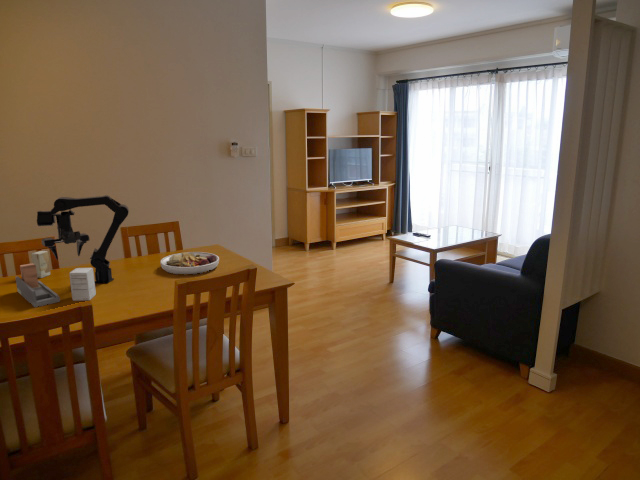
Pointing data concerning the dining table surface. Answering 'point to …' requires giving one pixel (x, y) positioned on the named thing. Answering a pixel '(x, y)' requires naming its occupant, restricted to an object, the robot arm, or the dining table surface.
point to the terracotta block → (29, 275)
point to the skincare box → (41, 263)
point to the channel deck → (37, 293)
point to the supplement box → (82, 284)
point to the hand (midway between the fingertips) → (68, 257)
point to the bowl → (189, 262)
